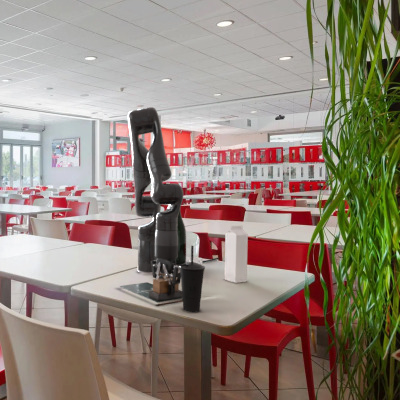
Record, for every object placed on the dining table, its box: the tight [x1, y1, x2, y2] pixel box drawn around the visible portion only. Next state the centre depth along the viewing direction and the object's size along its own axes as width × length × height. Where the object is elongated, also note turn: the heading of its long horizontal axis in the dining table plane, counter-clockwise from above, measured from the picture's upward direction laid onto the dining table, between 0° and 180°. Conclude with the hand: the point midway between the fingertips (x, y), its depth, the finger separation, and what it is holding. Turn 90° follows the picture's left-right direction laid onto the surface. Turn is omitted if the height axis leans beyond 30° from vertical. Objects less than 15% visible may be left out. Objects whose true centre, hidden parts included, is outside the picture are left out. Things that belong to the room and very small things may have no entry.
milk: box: [224, 225, 249, 284], centre depth 167 cm, size 6×6×22 cm
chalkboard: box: [118, 282, 183, 307], centre depth 148 cm, size 14×24×1 cm, turn 27°
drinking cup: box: [179, 245, 206, 313], centre depth 129 cm, size 8×8×20 cm
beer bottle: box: [175, 210, 187, 264], centre depth 201 cm, size 10×10×33 cm
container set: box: [188, 256, 203, 266], centre depth 179 cm, size 20×5×6 cm, turn 155°
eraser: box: [149, 277, 182, 301], centre depth 140 cm, size 10×5×6 cm, turn 117°
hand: (165, 293), depth 140 cm, fingers closed on eraser, 5 cm apart
